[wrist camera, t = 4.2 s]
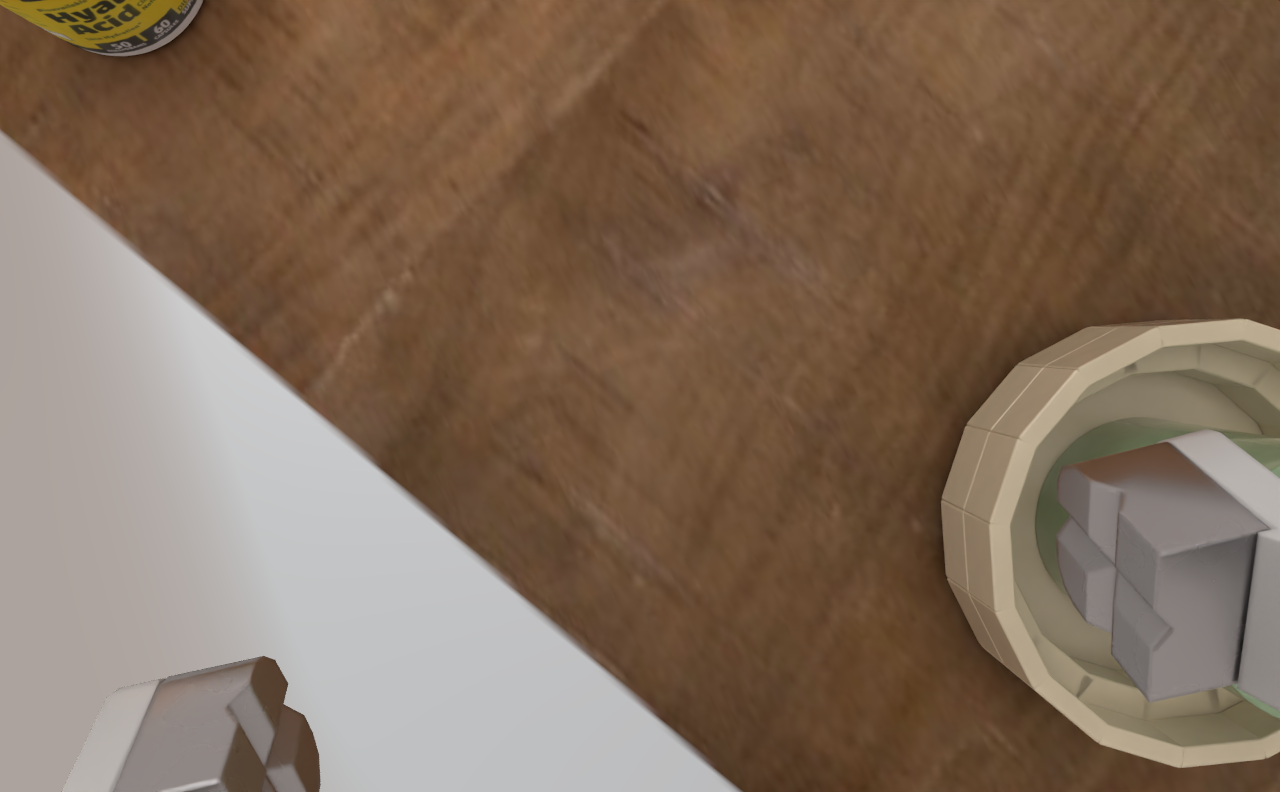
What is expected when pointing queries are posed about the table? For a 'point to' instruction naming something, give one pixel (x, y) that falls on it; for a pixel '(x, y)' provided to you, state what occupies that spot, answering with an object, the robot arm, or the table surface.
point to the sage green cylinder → (1124, 437)
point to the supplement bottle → (109, 22)
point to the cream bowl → (1007, 503)
